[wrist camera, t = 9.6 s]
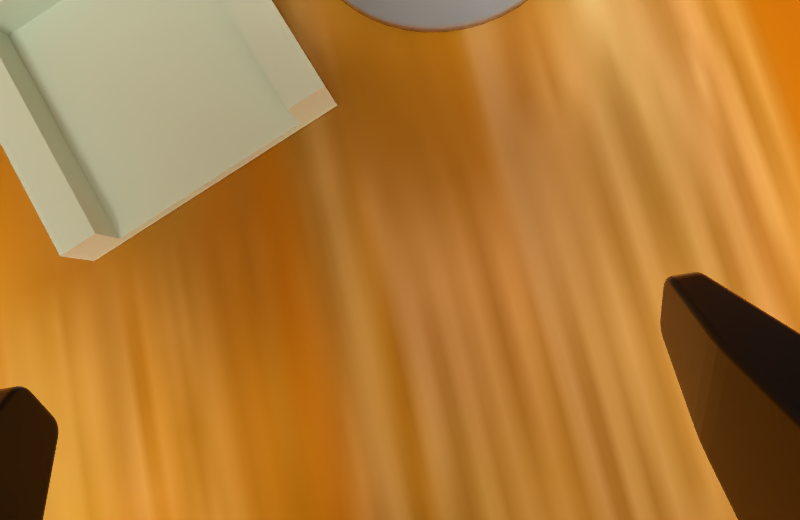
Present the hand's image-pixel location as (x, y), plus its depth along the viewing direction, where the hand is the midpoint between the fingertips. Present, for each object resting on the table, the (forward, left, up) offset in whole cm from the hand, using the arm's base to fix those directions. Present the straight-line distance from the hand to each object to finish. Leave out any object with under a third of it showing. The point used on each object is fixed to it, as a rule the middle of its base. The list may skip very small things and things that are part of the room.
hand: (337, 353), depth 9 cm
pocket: (+14, -4, -14) cm, 20 cm away
